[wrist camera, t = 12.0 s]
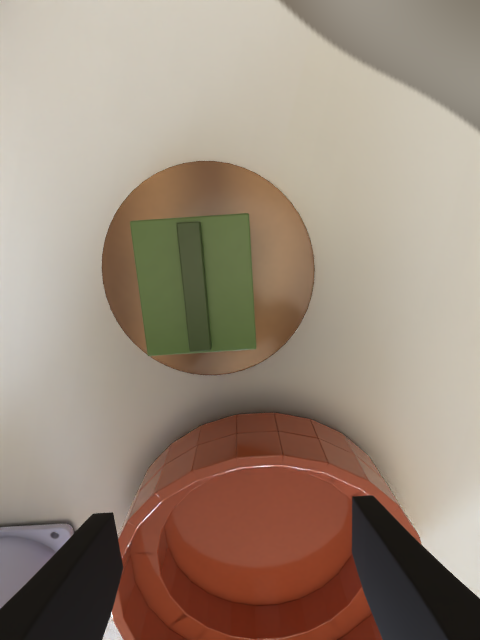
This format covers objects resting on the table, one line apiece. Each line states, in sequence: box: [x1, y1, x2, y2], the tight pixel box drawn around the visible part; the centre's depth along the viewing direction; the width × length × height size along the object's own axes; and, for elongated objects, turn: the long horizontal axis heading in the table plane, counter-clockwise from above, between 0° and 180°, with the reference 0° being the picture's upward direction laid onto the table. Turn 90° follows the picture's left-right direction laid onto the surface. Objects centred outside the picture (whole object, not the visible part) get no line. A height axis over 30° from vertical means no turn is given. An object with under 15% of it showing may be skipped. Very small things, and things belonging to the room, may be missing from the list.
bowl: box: [112, 412, 422, 640], centre depth 19 cm, size 16×16×4 cm
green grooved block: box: [130, 213, 256, 356], centre depth 14 cm, size 4×5×5 cm
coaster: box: [102, 161, 315, 375], centre depth 17 cm, size 11×11×1 cm
